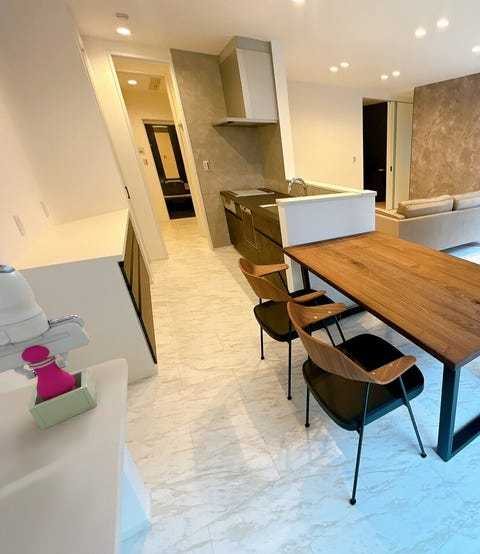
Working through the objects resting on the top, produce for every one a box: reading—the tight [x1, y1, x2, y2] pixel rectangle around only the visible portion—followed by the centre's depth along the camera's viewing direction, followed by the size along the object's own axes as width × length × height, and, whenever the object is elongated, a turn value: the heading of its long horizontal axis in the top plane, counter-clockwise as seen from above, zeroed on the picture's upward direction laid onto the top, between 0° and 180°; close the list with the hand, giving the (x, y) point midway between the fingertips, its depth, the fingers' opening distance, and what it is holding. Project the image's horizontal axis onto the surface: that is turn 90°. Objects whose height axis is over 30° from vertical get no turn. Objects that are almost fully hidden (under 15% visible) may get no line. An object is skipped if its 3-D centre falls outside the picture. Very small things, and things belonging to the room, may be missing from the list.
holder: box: [28, 368, 98, 431], centre depth 83 cm, size 11×11×7 cm
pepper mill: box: [22, 345, 77, 401], centre depth 79 cm, size 7×7×20 cm
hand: (48, 372), depth 79 cm, fingers closed on pepper mill, 4 cm apart
